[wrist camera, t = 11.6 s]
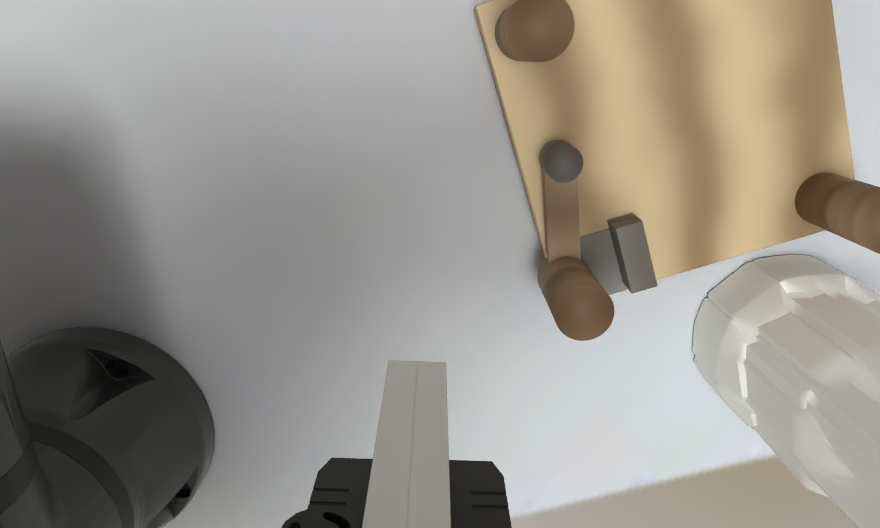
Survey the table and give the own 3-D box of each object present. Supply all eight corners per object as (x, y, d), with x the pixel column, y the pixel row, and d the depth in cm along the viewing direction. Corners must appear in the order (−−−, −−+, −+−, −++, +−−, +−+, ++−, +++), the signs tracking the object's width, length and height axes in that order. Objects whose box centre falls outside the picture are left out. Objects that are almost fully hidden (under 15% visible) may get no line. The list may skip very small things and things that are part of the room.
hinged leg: (589, 296, 39) (614, 337, 34) (538, 301, 39) (556, 343, 34) (583, 137, 36) (610, 151, 31) (529, 142, 37) (546, 158, 31)
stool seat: (554, 293, 42) (584, 353, 34) (473, 9, 37) (484, -5, 29) (835, 210, 41) (939, 250, 32) (791, -99, 36) (902, -148, 27)
